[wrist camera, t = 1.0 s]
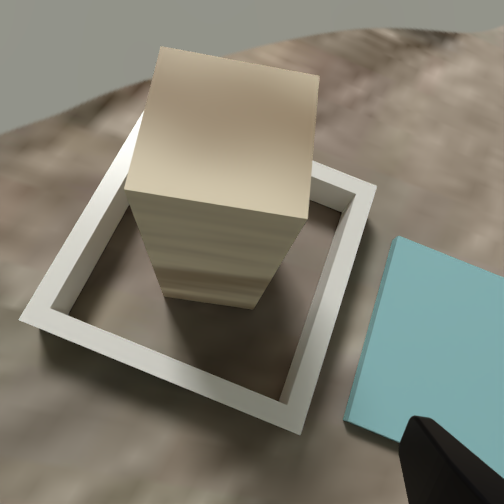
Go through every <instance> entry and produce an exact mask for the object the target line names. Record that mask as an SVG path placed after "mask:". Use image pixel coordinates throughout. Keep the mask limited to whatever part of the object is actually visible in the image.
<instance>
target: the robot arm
mask: <svg viewBox="0 0 504 504" xmlns="http://www.w3.org/2000/svg"><path fill="white" fill-rule="evenodd" d="M399 458H400V463H401V468H402V473H403V477H404V482H405V487H406V492H407V497H408V502H409V504H504V478H503V477H501V476H500V475H499V474H498V473H497V472H495V471H494V470H493V469H492V468H491V467H489V466H488V465H487V464H486V463H485V462H484V461H482V460H481V459H480V458H479V457H478V456H476V455H475V454H474V453H473V452H472V451H470V450H469V449H468V448H467V447H466V446H464V445H463V444H462V443H461V442H460V441H458V440H457V439H456V438H455V437H454V436H452V435H451V434H450V433H449V432H448V431H447V430H445V429H444V428H443V427H442V426H441V425H439V424H438V423H437V422H436V421H435V420H433V419H432V418H429V417H423V416H417V415H414V416H412V417H411V418H410V419H409V421H408V423H407V426H406V428H405V431H404V433H403V436H402V438H401V441H400V444H399Z"/></svg>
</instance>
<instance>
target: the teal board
mask: <svg viewBox="0 0 504 504" xmlns="http://www.w3.org/2000/svg"><path fill="white" fill-rule="evenodd" d="M414 415H417V416H423V417H429V418H432V419H433V420H435V421H436V422H437V423H438V424H439V425H441V426H442V427H443V428H444V429H445V430H447V431H448V432H449V433H450V434H451V435H452V436H454V437H455V438H456V439H457V440H458V441H460V442H461V443H462V444H463V445H464V446H466V447H467V448H468V449H469V450H470V451H472V452H473V453H474V454H475V455H476V456H478V457H479V458H480V459H481V460H482V461H484V462H485V463H486V464H487V465H488V466H489V467H491V468H492V469H493V470H494V471H495V472H497V473H498V474H499V475H500V476H501V477H503V478H504V278H503V277H501V276H498V275H496V274H493V273H491V272H488V271H486V270H483V269H481V268H478V267H476V266H473V265H471V264H468V263H466V262H463V261H461V260H458V259H456V258H453V257H451V256H448V255H446V254H443V253H441V252H438V251H436V250H433V249H431V248H428V247H426V246H423V245H421V244H418V243H416V242H413V241H411V240H408V239H406V238H403V237H401V236H397V237H396V238H395V239H393V240H392V244H391V247H390V251H389V255H388V258H387V262H386V266H385V269H384V273H383V276H382V280H381V284H380V287H379V291H378V295H377V298H376V302H375V305H374V309H373V313H372V316H371V320H370V324H369V327H368V331H367V334H366V338H365V342H364V345H363V349H362V353H361V356H360V360H359V364H358V367H357V371H356V374H355V378H354V382H353V385H352V389H351V393H350V396H349V400H348V403H347V407H346V411H345V414H344V418H343V420H344V421H347V422H349V423H351V424H354V425H356V426H359V427H361V428H364V429H366V430H369V431H371V432H374V433H376V434H378V435H381V436H383V437H386V438H388V439H391V440H393V441H396V442H398V443H400V441H401V438H402V436H403V433H404V431H405V428H406V426H407V423H408V421H409V419H410V418H411V417H412V416H414Z"/></svg>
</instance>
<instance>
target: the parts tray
mask: <svg viewBox="0 0 504 504" xmlns="http://www.w3.org/2000/svg"><path fill="white" fill-rule="evenodd" d="M143 113H144V111H143ZM143 113H142V115H141V116H140V118H139V120H138V121H137V123H136V125H135V126H134V128H133V130H132V131H131V133H130V135H129V136H128V138H127V140H126V141H125V143H124V145H123V146H122V148H121V150H120V151H119V153H118V155H117V156H116V158H115V160H114V161H113V163H112V165H111V166H110V168H109V170H108V171H107V173H106V175H105V176H104V178H103V180H102V181H101V183H100V185H99V186H98V188H97V190H96V191H95V193H94V195H93V196H92V198H91V200H90V201H89V203H88V205H87V206H86V208H85V210H84V211H83V213H82V215H81V216H80V218H79V220H78V221H77V223H76V225H75V226H74V228H73V230H72V231H71V233H70V235H69V236H68V238H67V240H66V241H65V243H64V245H63V246H62V248H61V250H60V251H59V253H58V255H57V256H56V258H55V260H54V261H53V263H52V265H51V266H50V268H49V270H48V271H47V273H46V275H45V276H44V278H43V280H42V281H41V283H40V285H39V286H38V288H37V290H36V291H35V293H34V295H33V296H32V298H31V300H30V301H29V303H28V305H27V306H26V308H25V310H24V311H23V313H22V315H21V316H20V318H19V320H20V321H23V322H25V323H27V324H30V325H32V326H35V327H37V328H39V329H42V330H44V331H47V332H49V333H52V334H54V335H56V336H59V337H61V338H64V339H66V340H69V341H71V342H74V343H76V344H78V345H81V346H83V347H86V348H88V349H91V350H93V351H96V352H98V353H100V354H103V355H105V356H108V357H110V358H113V359H115V360H117V361H120V362H122V363H125V364H127V365H130V366H132V367H135V368H137V369H139V370H142V371H144V372H147V373H149V374H152V375H154V376H156V377H159V378H161V379H164V380H166V381H169V382H171V383H174V384H176V385H178V386H181V387H183V388H186V389H188V390H191V391H193V392H195V393H198V394H200V395H203V396H205V397H208V398H210V399H213V400H215V401H217V402H220V403H222V404H225V405H227V406H230V407H232V408H235V409H237V410H239V411H242V412H244V413H247V414H249V415H252V416H254V417H256V418H259V419H261V420H264V421H266V422H269V423H271V424H274V425H276V426H278V427H281V428H283V429H286V430H288V431H291V432H293V433H296V434H298V435H301V432H302V429H303V425H304V422H305V419H306V416H307V412H308V409H309V406H310V403H311V399H312V396H313V393H314V390H315V386H316V383H317V380H318V377H319V373H320V370H321V367H322V363H323V360H324V357H325V354H326V350H327V347H328V344H329V341H330V337H331V334H332V331H333V328H334V324H335V321H336V318H337V315H338V311H339V308H340V305H341V302H342V298H343V295H344V292H345V289H346V285H347V282H348V279H349V276H350V272H351V269H352V266H353V263H354V259H355V256H356V253H357V250H358V246H359V243H360V240H361V237H362V233H363V230H364V227H365V224H366V220H367V217H368V214H369V211H370V207H371V204H372V201H373V198H374V194H375V191H376V188H377V186H375V185H373V184H370V183H368V182H365V181H363V180H360V179H358V178H355V177H353V176H350V175H348V174H345V173H343V172H340V171H338V170H335V169H332V168H330V167H327V166H325V165H322V164H320V163H317V162H315V161H312V172H311V184H310V197H309V200H312V201H314V202H317V203H319V204H322V205H324V206H327V207H329V208H332V209H335V210H337V211H340V212H342V214H341V217H340V220H339V223H338V226H337V229H336V232H335V235H334V238H333V241H332V244H331V247H330V250H329V253H328V256H327V259H326V262H325V265H324V268H323V271H322V274H321V277H320V280H319V283H318V286H317V289H316V292H315V295H314V298H313V301H312V304H311V307H310V309H309V312H308V315H307V318H306V321H305V324H304V327H303V330H302V333H301V336H300V339H299V342H298V345H297V348H296V351H295V354H294V357H293V360H292V363H291V366H290V369H289V372H288V375H287V378H286V381H285V384H284V387H283V390H282V393H281V396H280V399H279V402H278V401H276V400H273V399H271V398H269V397H266V396H264V395H261V394H259V393H256V392H254V391H251V390H249V389H247V388H244V387H242V386H239V385H237V384H234V383H232V382H229V381H227V380H224V379H222V378H220V377H217V376H215V375H212V374H210V373H207V372H205V371H202V370H200V369H198V368H195V367H193V366H190V365H188V364H185V363H183V362H180V361H178V360H176V359H173V358H171V357H168V356H166V355H163V354H161V353H158V352H156V351H154V350H151V349H149V348H146V347H144V346H141V345H139V344H136V343H134V342H132V341H129V340H127V339H124V338H122V337H119V336H117V335H114V334H112V333H110V332H107V331H105V330H102V329H100V328H97V327H95V326H92V325H90V324H88V323H85V322H83V321H80V320H78V319H75V318H73V317H70V316H68V314H69V312H70V310H71V308H72V307H73V305H74V303H75V301H76V299H77V298H78V296H79V294H80V292H81V290H82V289H83V287H84V285H85V283H86V281H87V280H88V278H89V276H90V274H91V272H92V271H93V269H94V267H95V265H96V263H97V262H98V260H99V258H100V256H101V254H102V253H103V251H104V249H105V247H106V245H107V244H108V242H109V240H110V238H111V236H112V235H113V233H114V231H115V229H116V227H117V226H118V224H119V222H120V220H121V218H122V217H123V215H124V213H125V211H126V209H127V208H128V206H129V202H128V199H127V197H126V194H125V191H124V187H125V183H126V179H127V175H128V171H129V167H130V163H131V160H132V156H133V152H134V148H135V144H136V140H137V136H138V133H139V129H140V125H141V121H142V117H143Z"/></svg>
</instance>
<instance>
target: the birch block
mask: <svg viewBox="0 0 504 504" xmlns="http://www.w3.org/2000/svg"><path fill="white" fill-rule="evenodd" d="M318 87H319V76H317V75H312V74H307V73H301V72H296V71H291V70H285V69H280V68H274V67H269V66H264V65H258V64H253V63H248V62H242V61H237V60H232V59H226V58H221V57H216V56H210V55H205V54H199V53H194V52H189V51H184V50H178V49H173V48H167V47H162V46H161V48H160V52H159V55H158V59H157V63H156V67H155V71H154V75H153V78H152V82H151V86H150V90H149V94H148V98H147V102H146V105H145V109H144V113H143V117H142V121H141V125H140V129H139V133H138V136H137V140H136V144H135V148H134V152H133V156H132V160H131V163H130V167H129V171H128V175H127V179H126V183H125V187H124V191H125V194H126V197H127V199H128V202H129V205H130V207H131V210H132V213H133V215H134V218H135V221H136V223H137V226H138V229H139V231H140V234H141V237H142V239H143V242H144V245H145V247H146V250H147V253H148V255H149V258H150V261H151V263H152V266H153V269H154V271H155V274H156V277H157V279H158V282H159V285H160V287H161V290H162V293H163V296H164V297H170V298H177V299H184V300H191V301H198V302H205V303H212V304H219V305H225V306H232V307H239V308H246V309H254V308H255V306H256V304H257V303H258V301H259V299H260V298H261V296H262V294H263V293H264V291H265V289H266V288H267V286H268V284H269V283H270V281H271V279H272V278H273V276H274V274H275V273H276V271H277V269H278V268H279V266H280V264H281V263H282V261H283V259H284V258H285V256H286V254H287V253H288V251H289V249H290V248H291V246H292V244H293V243H294V241H295V239H296V238H297V236H298V234H299V233H300V231H301V229H302V228H303V226H304V224H305V223H306V221H307V219H308V209H309V197H310V184H311V172H312V160H313V148H314V136H315V124H316V111H317V99H318Z"/></svg>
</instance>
